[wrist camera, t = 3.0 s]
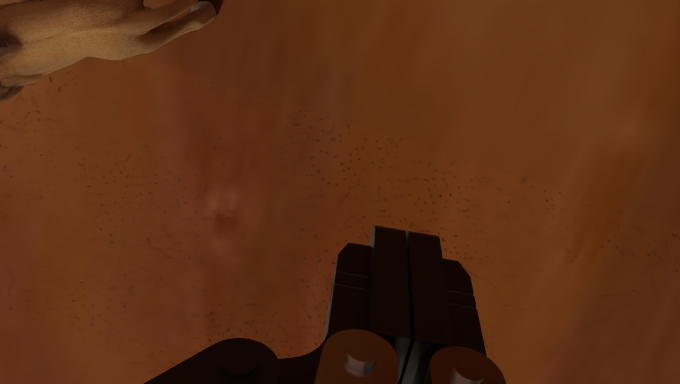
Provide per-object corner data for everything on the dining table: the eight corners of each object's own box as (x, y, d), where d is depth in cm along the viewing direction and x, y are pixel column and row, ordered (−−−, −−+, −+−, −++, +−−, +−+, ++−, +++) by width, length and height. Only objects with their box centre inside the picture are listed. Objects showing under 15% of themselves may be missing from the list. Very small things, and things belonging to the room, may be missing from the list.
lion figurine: (30, 110, 26) (-87, 188, 20) (-35, 23, 24) (-186, 77, 18) (254, 3, 23) (201, 55, 17) (199, -107, 21) (115, -96, 15)
